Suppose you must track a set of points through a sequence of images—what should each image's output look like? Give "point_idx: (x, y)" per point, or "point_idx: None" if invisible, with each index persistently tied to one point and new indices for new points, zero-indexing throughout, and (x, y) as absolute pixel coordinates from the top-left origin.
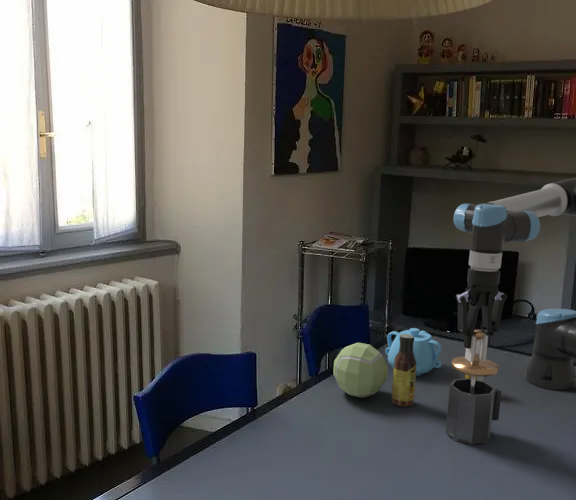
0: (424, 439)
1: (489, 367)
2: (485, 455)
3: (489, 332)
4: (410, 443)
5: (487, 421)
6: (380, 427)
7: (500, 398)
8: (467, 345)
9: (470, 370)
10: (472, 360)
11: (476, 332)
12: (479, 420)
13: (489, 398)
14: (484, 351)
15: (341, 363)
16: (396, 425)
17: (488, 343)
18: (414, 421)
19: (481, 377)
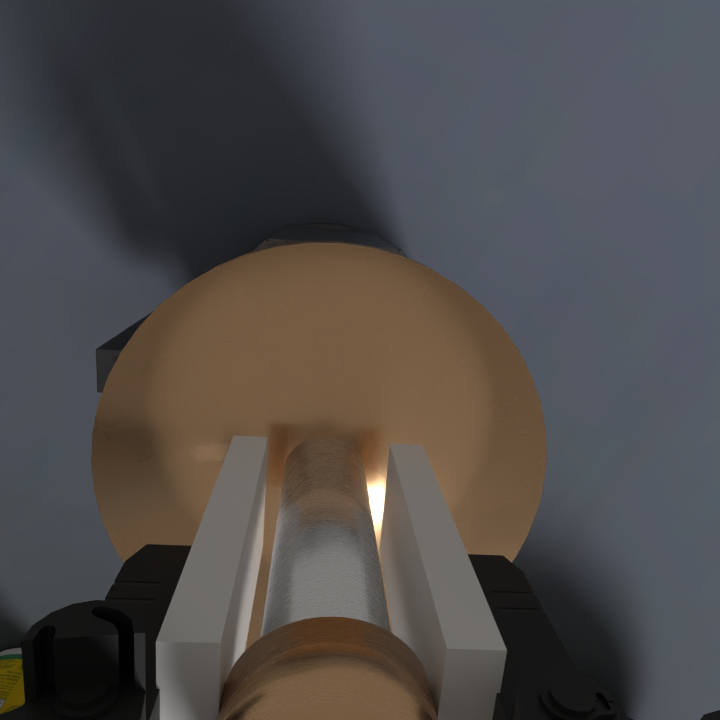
0: (540, 339)
1: (232, 357)
2: (370, 125)
3: (104, 705)
4: (619, 326)
5: (292, 229)
6: (648, 482)
7: (116, 336)
8: (518, 584)
9: (485, 338)
10: (407, 451)
11: None
12: (347, 234)
13: (287, 238)
14: (249, 488)
15: None
16: (575, 480)
17: (143, 576)
18: None
19: None
